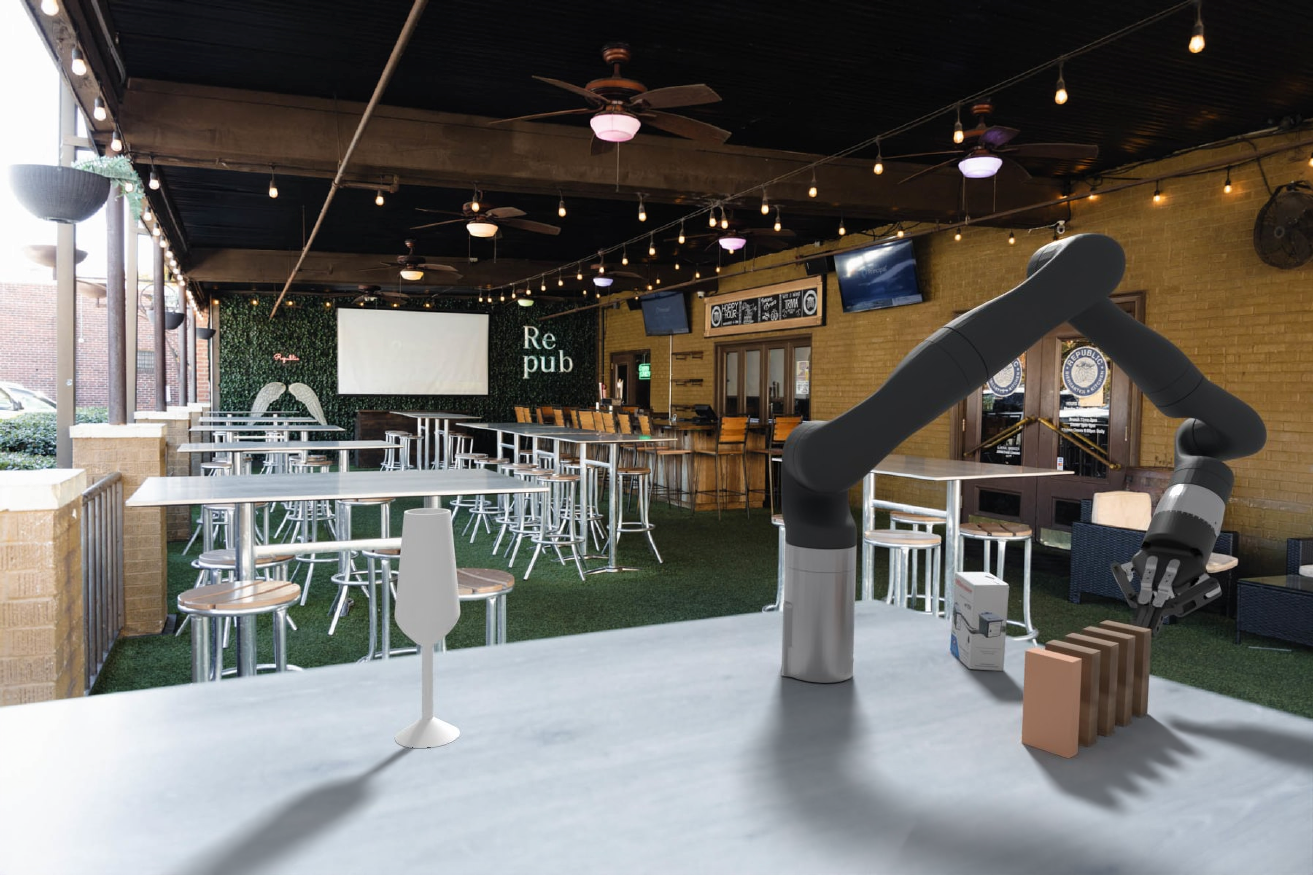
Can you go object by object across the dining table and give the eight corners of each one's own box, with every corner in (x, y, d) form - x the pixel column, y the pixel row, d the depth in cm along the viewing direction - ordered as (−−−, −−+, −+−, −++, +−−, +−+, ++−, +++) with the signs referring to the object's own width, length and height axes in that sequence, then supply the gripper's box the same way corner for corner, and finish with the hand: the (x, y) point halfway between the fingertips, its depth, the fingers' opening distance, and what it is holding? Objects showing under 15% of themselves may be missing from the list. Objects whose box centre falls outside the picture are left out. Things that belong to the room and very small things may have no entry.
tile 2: (1086, 709, 102) (1090, 626, 101) (1131, 722, 98) (1135, 635, 97) (1078, 713, 100) (1082, 629, 100) (1124, 726, 96) (1128, 639, 96)
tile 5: (1030, 737, 93) (1034, 647, 92) (1077, 753, 89) (1081, 658, 88) (1021, 742, 92) (1025, 650, 91) (1068, 758, 88) (1072, 662, 87)
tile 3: (1069, 718, 99) (1072, 632, 98) (1114, 732, 95) (1118, 643, 94) (1060, 722, 97) (1064, 635, 97) (1106, 736, 94) (1111, 646, 93)
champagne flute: (428, 718, 96) (428, 505, 94) (473, 731, 92) (473, 510, 91) (380, 738, 90) (380, 512, 89) (427, 753, 87) (426, 518, 85)
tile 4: (1050, 727, 96) (1053, 639, 95) (1096, 742, 92) (1100, 650, 91) (1041, 732, 95) (1045, 642, 94) (1088, 746, 91) (1092, 654, 90)
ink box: (949, 651, 124) (951, 570, 123) (984, 651, 124) (987, 571, 123) (969, 670, 115) (972, 584, 115) (1007, 671, 115) (1010, 584, 114)
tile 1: (1103, 701, 104) (1106, 620, 104) (1147, 713, 101) (1151, 629, 100) (1095, 704, 103) (1099, 622, 103) (1140, 717, 99) (1144, 632, 99)
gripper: (1122, 502, 115) (1077, 606, 108) (1237, 514, 105) (1195, 630, 98) (1137, 538, 119) (1094, 640, 112) (1249, 552, 109) (1209, 667, 101)
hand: (1141, 635), depth 105 cm, fingers closed
